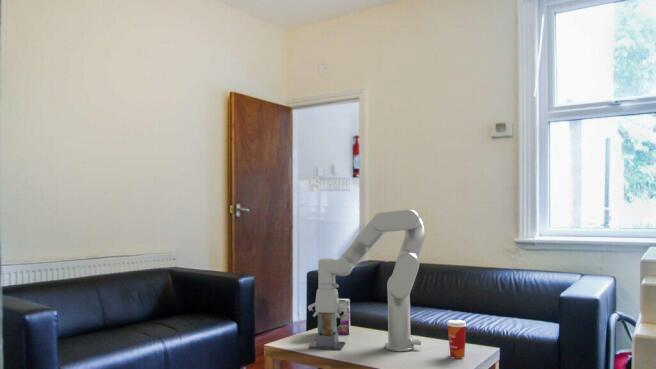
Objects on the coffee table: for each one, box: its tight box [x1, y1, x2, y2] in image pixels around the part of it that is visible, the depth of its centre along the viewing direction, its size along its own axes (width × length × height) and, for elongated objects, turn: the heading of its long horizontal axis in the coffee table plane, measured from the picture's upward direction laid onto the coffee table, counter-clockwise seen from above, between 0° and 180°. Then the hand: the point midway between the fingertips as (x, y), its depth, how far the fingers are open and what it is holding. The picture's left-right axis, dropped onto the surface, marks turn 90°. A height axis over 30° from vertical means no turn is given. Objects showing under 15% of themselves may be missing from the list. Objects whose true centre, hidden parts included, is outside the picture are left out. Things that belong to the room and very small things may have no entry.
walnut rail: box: [322, 312, 333, 336], centre depth 218 cm, size 4×4×14 cm
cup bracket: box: [308, 331, 346, 351], centre depth 218 cm, size 14×10×6 cm
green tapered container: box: [317, 313, 337, 334], centre depth 231 cm, size 10×10×12 cm
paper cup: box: [446, 319, 467, 359], centre depth 202 cm, size 8×8×14 cm
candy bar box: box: [337, 298, 351, 336], centre depth 241 cm, size 11×5×16 cm, turn 80°
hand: (327, 325), depth 218 cm, fingers open, 9 cm apart
